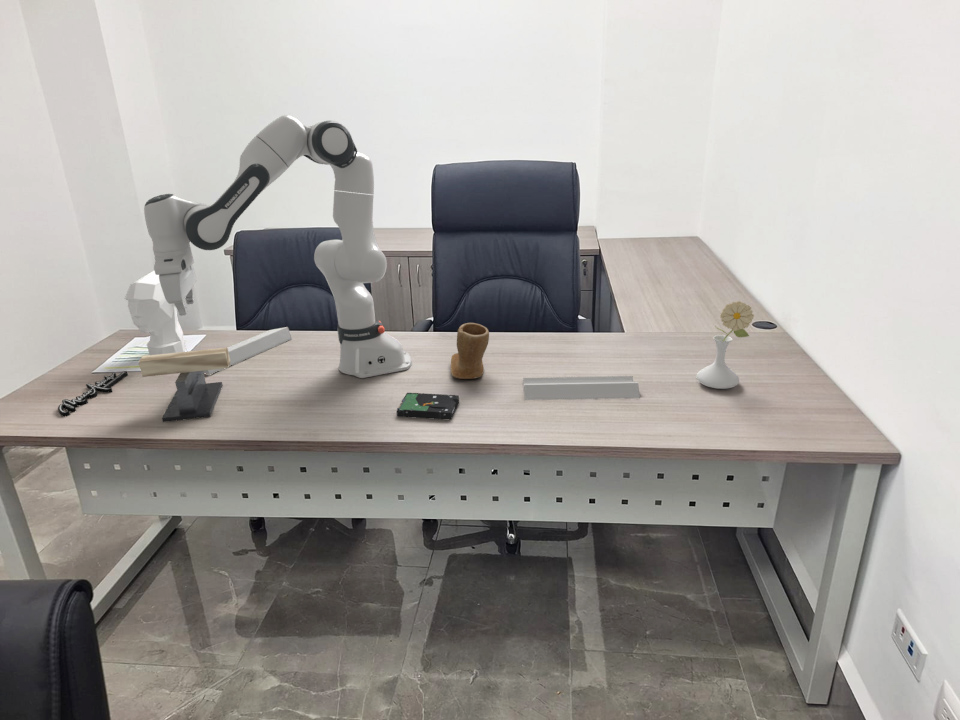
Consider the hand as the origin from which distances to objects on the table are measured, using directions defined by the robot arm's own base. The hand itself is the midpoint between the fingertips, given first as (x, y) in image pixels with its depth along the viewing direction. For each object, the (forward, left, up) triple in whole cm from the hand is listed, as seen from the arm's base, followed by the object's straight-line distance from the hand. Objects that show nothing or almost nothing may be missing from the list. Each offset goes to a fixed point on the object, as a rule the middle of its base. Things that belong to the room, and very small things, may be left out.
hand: (187, 308), depth 170 cm
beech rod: (+3, +4, -16) cm, 17 cm away
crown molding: (-104, +24, -27) cm, 110 cm away
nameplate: (+34, -11, -27) cm, 44 cm away
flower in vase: (-142, +32, -27) cm, 148 cm away
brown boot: (-76, +4, -27) cm, 81 cm away
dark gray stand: (+3, +4, -26) cm, 27 cm away
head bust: (+20, -36, -27) cm, 49 cm away
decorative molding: (-6, -31, -27) cm, 42 cm away
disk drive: (-61, +25, -27) cm, 71 cm away
